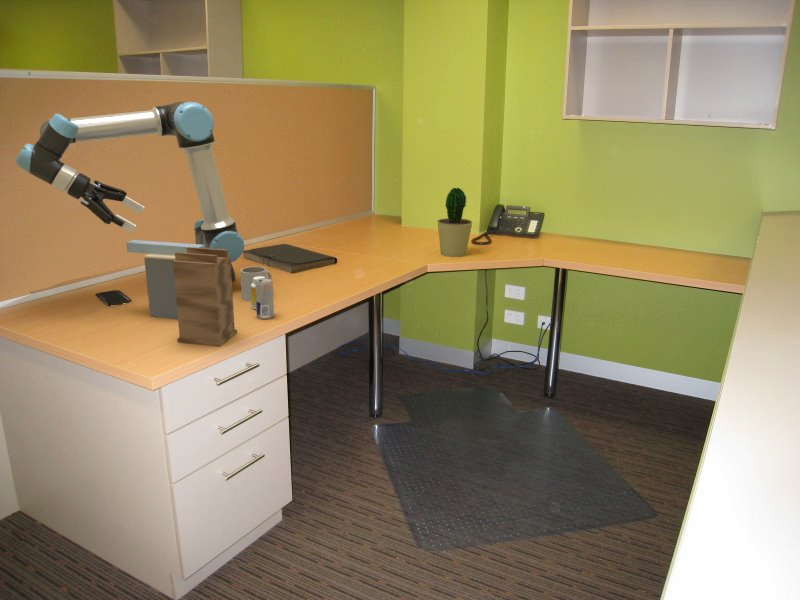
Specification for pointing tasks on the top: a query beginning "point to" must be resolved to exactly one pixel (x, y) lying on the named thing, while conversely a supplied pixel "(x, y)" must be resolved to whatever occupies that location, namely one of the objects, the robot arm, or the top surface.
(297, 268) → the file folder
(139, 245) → the batten
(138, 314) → the top surface
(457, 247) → the potted cactus
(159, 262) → the block
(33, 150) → the robot arm
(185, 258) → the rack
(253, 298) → the supplement bottle
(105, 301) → the phone
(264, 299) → the energy drink
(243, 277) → the mug
